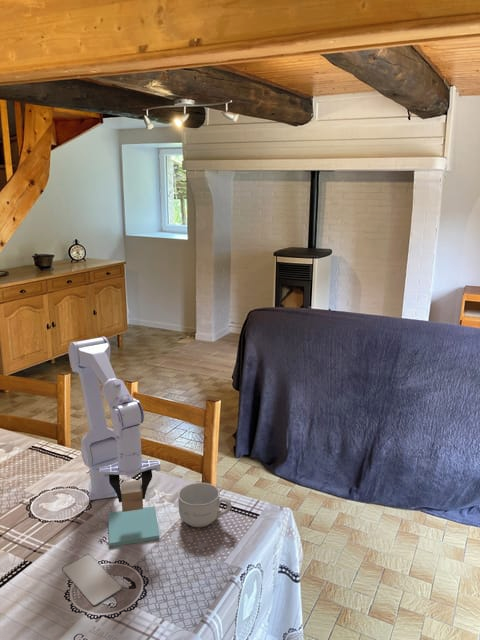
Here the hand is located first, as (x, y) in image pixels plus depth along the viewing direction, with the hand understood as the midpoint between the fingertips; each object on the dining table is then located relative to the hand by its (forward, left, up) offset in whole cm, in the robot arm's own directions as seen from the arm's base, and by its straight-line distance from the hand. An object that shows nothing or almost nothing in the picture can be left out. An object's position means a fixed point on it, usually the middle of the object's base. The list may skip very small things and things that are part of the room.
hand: (131, 498), depth 128 cm
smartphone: (+15, -10, -9) cm, 20 cm away
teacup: (+2, +18, -9) cm, 20 cm away
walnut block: (0, 0, -2) cm, 2 cm away
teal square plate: (0, 0, -8) cm, 8 cm away
